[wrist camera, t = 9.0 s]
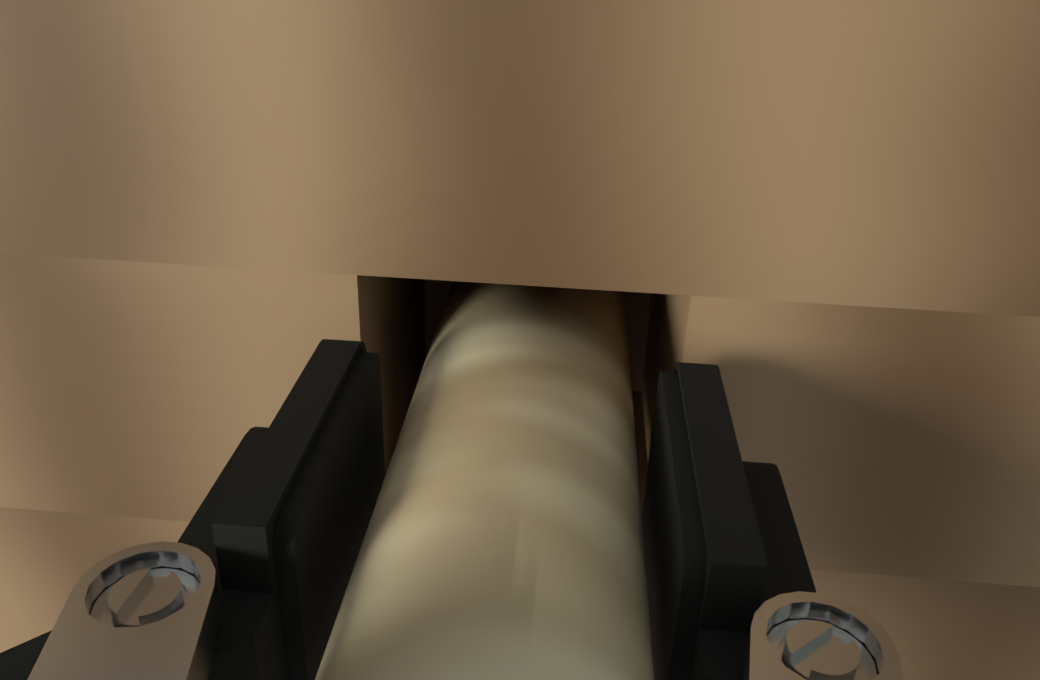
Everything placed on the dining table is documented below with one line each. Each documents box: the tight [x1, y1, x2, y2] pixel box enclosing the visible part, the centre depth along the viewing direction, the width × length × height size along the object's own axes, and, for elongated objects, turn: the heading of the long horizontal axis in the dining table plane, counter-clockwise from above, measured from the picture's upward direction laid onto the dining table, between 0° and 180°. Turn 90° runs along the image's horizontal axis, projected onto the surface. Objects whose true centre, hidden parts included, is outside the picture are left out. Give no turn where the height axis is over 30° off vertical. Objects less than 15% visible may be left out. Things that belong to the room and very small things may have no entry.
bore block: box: [0, 0, 1040, 680], centre depth 15 cm, size 20×20×6 cm
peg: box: [315, 281, 654, 680], centre depth 12 cm, size 3×3×11 cm
